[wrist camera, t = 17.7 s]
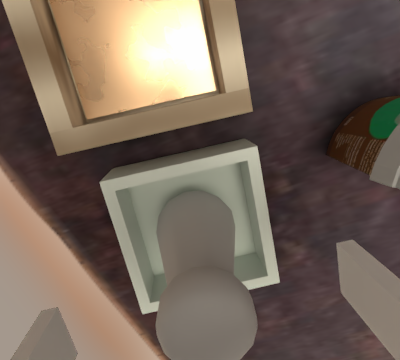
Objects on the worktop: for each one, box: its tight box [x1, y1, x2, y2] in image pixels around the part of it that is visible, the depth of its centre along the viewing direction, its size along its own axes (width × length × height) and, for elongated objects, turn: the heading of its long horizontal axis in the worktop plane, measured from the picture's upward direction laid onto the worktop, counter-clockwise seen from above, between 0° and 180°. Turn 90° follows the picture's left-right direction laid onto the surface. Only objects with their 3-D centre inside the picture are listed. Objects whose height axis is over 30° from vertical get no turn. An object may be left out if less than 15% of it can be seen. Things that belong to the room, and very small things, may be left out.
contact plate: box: [49, 0, 216, 120], centre depth 20 cm, size 9×9×1 cm
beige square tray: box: [2, 0, 253, 156], centre depth 19 cm, size 13×13×4 cm
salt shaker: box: [156, 190, 258, 360], centre depth 18 cm, size 6×6×13 cm
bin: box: [99, 138, 280, 314], centre depth 23 cm, size 11×11×4 cm
